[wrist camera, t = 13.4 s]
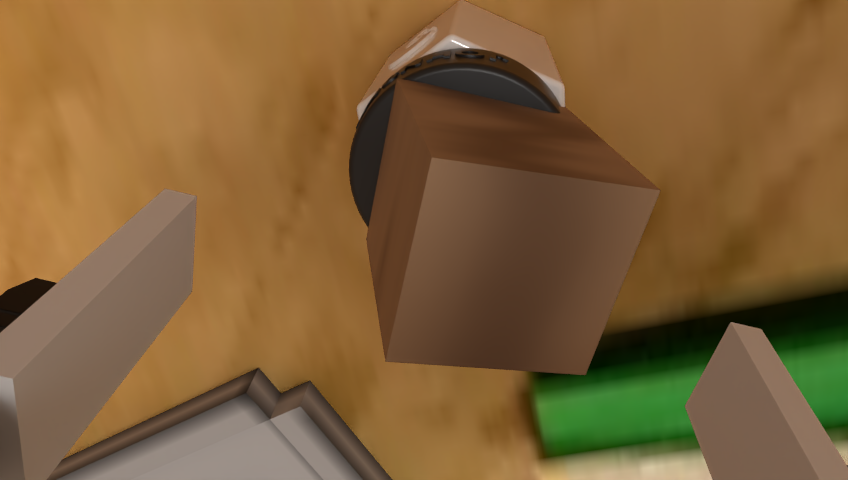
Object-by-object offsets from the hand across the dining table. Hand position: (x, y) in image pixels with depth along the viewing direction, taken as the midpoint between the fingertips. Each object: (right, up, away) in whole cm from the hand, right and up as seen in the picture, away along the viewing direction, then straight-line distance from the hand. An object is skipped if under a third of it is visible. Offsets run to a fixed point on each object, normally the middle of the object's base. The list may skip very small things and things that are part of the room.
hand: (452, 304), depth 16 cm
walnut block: (+1, +4, +7) cm, 8 cm away
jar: (+2, +9, +18) cm, 20 cm away
